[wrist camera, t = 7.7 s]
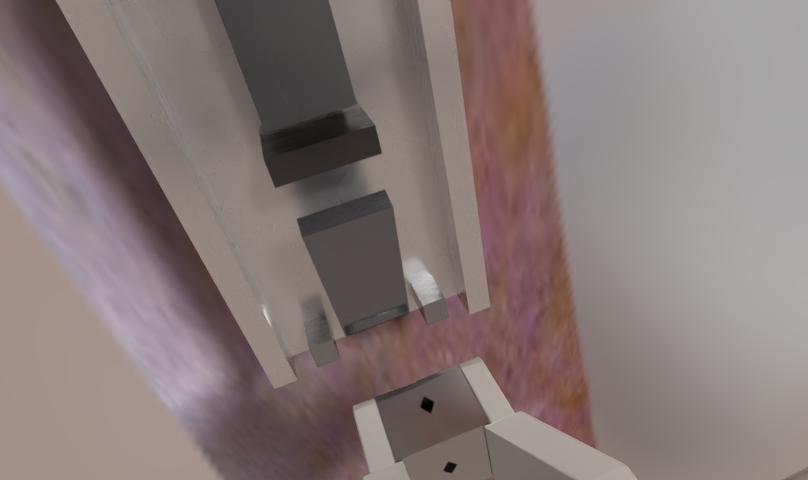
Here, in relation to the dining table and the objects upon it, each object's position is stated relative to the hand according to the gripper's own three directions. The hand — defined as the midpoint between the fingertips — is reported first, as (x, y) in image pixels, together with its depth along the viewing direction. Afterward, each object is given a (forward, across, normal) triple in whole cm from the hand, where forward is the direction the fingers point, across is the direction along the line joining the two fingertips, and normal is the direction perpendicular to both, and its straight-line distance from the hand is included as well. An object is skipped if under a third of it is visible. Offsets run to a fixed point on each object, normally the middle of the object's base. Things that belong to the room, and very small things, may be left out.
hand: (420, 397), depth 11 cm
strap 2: (+8, 0, +2) cm, 9 cm away
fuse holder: (+14, 0, -3) cm, 15 cm away
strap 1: (+9, 0, -8) cm, 12 cm away
